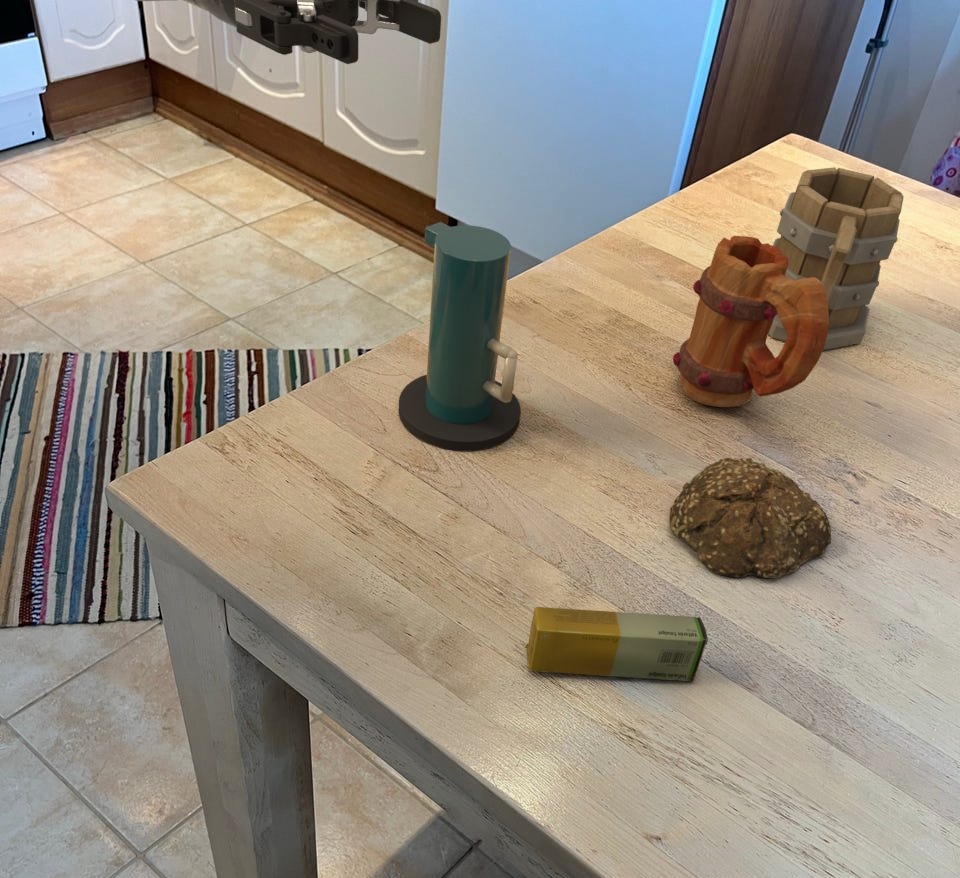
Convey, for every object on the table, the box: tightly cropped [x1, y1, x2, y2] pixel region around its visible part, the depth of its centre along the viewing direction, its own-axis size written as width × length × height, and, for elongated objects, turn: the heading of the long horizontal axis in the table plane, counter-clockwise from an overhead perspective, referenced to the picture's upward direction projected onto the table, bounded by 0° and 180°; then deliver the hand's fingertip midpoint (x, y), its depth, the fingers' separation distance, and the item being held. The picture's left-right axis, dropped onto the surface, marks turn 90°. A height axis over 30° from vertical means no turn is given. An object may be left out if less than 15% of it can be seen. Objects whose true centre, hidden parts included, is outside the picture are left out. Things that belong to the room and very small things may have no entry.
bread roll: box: [668, 457, 832, 579], centre depth 79 cm, size 13×12×5 cm
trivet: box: [397, 374, 522, 452], centre depth 88 cm, size 11×11×1 cm
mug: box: [672, 235, 829, 408], centre depth 88 cm, size 15×8×15 cm, turn 27°
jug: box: [424, 221, 519, 424], centre depth 82 cm, size 10×6×15 cm, turn 48°
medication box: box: [524, 606, 709, 683], centre depth 68 cm, size 12×3×4 cm, turn 91°
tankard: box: [768, 167, 904, 351], centre depth 99 cm, size 20×13×15 cm, turn 160°
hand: (397, 37), depth 72 cm, fingers open, 8 cm apart
